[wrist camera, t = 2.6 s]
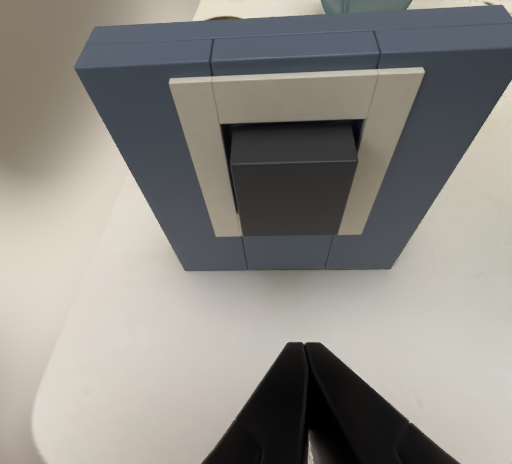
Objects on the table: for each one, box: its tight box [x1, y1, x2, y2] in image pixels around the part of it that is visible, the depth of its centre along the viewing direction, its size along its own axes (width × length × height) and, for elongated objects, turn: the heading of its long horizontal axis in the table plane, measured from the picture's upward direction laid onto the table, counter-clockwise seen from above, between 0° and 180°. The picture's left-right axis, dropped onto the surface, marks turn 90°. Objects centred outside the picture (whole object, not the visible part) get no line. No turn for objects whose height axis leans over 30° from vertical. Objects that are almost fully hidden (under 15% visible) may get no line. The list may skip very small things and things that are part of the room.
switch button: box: [230, 123, 359, 236], centre depth 14 cm, size 2×4×5 cm, turn 89°
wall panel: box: [74, 5, 512, 271], centre depth 17 cm, size 3×14×15 cm, turn 89°
